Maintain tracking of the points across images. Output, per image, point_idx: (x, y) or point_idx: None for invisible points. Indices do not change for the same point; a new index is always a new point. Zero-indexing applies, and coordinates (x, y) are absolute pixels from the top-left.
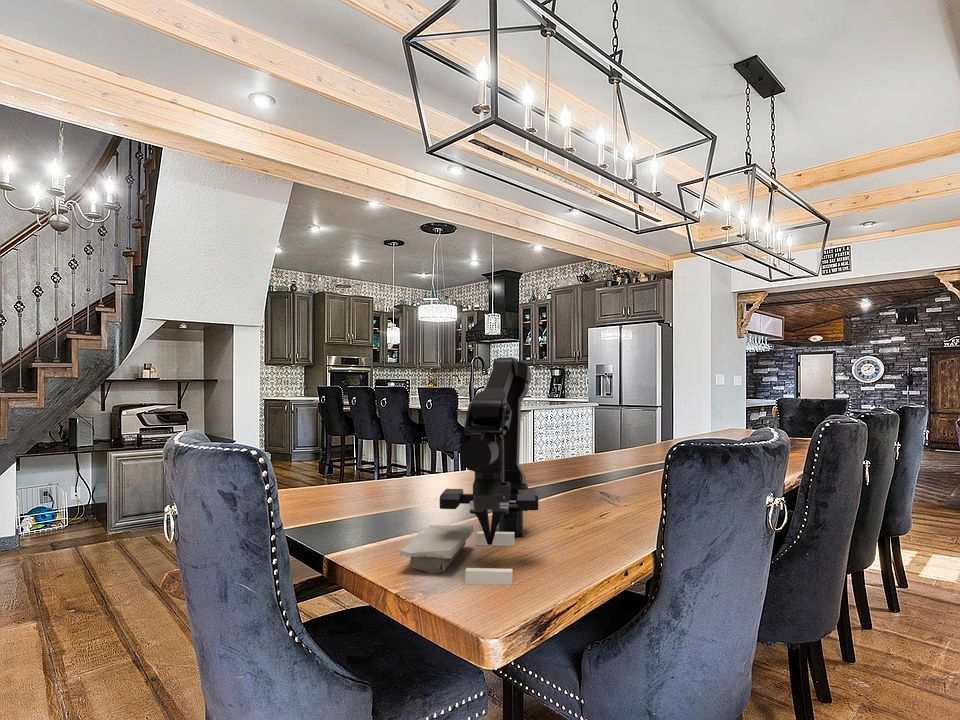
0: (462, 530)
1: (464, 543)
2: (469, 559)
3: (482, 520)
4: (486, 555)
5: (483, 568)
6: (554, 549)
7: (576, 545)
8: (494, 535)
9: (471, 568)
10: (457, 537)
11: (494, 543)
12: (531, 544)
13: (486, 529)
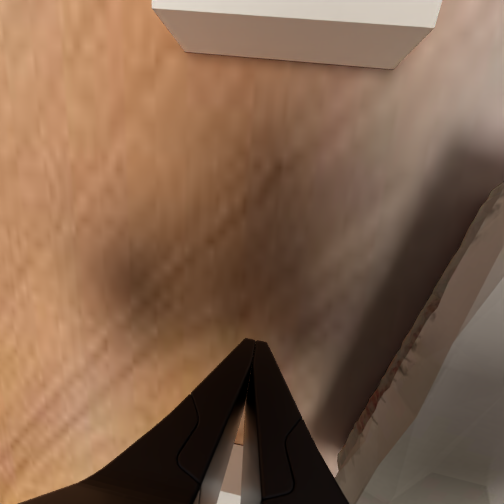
0: (398, 499)
1: (344, 457)
2: (335, 343)
3: (311, 500)
4: None
5: (322, 13)
6: (57, 385)
7: (2, 404)
8: (228, 484)
9: (400, 16)
10: (464, 399)
11: (234, 451)
12: (124, 433)
13: (268, 406)
